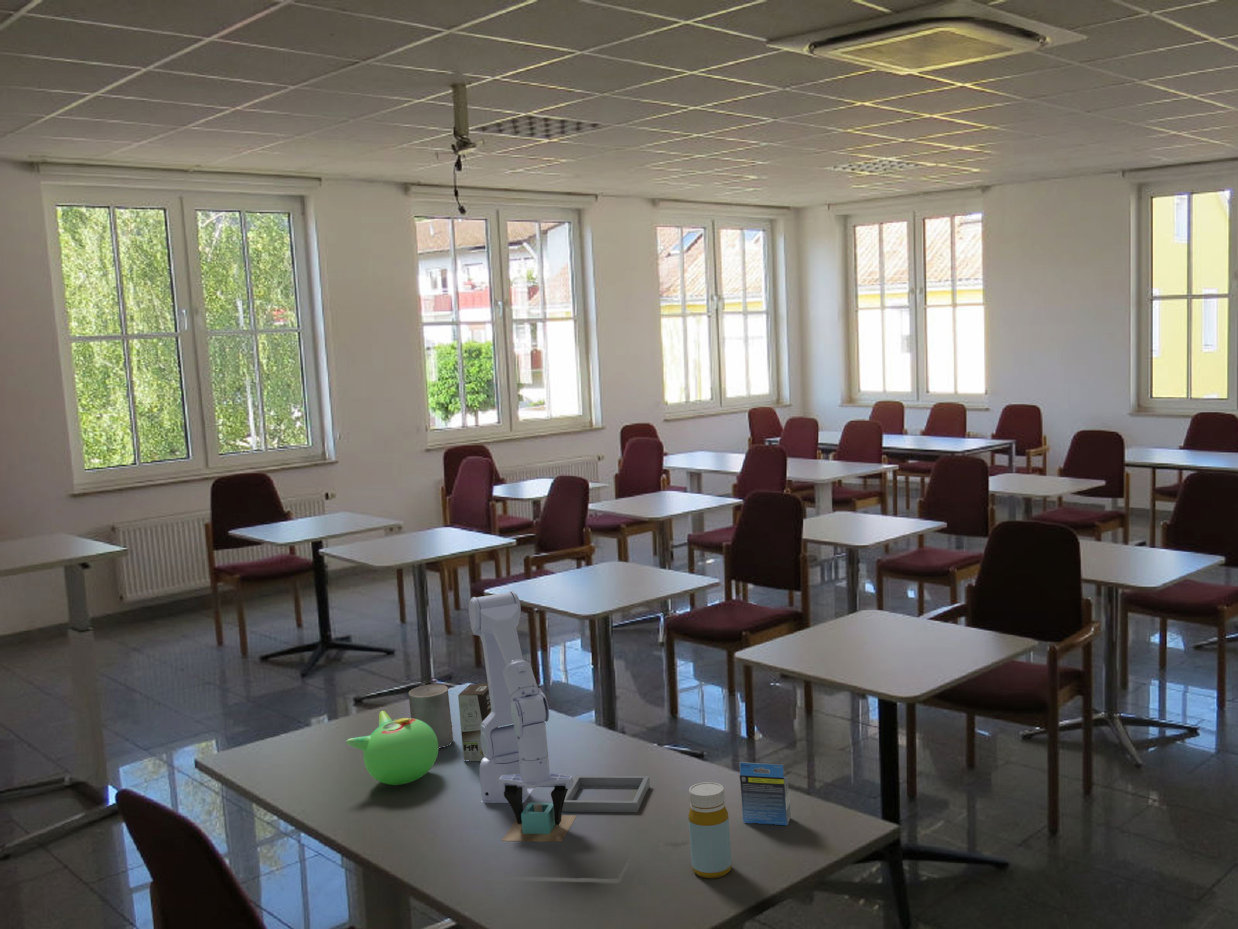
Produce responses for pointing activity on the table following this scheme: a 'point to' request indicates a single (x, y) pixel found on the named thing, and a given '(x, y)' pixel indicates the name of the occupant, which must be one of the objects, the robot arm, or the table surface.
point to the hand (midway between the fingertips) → (539, 822)
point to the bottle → (709, 830)
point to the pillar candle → (433, 710)
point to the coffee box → (473, 719)
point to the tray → (606, 782)
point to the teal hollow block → (538, 819)
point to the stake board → (554, 836)
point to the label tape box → (764, 794)
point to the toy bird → (398, 749)
